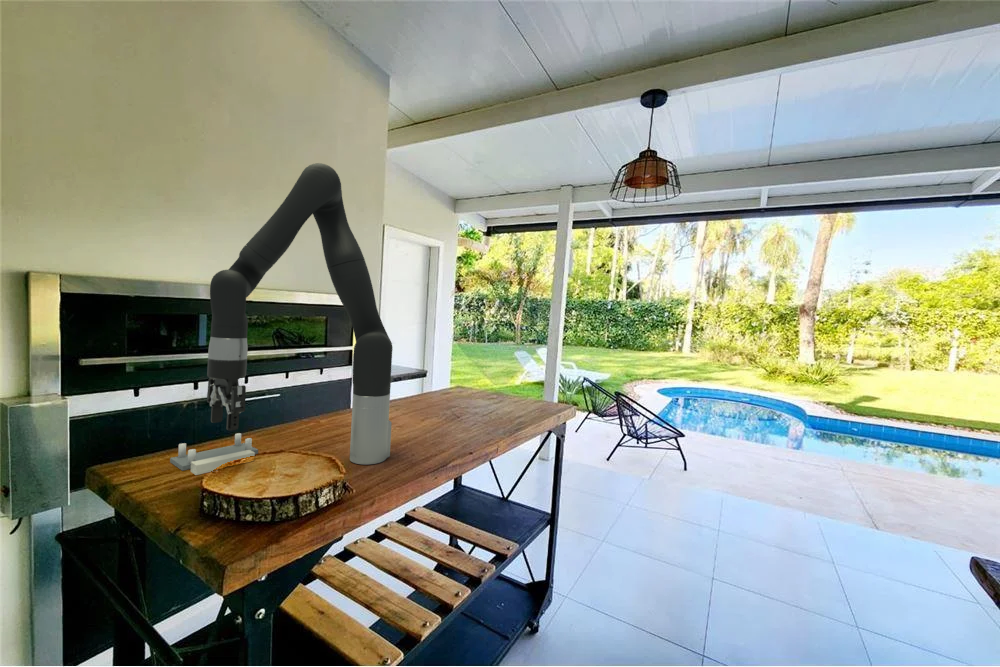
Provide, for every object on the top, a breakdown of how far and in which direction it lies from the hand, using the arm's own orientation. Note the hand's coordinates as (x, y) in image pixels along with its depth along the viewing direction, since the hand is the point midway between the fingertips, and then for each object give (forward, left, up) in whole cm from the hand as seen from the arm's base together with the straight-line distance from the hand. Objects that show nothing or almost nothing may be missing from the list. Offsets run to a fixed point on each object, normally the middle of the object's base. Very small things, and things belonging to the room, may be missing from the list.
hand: (224, 425), depth 94 cm
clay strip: (0, 0, -10) cm, 10 cm away
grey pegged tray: (-1, -7, -10) cm, 12 cm away
